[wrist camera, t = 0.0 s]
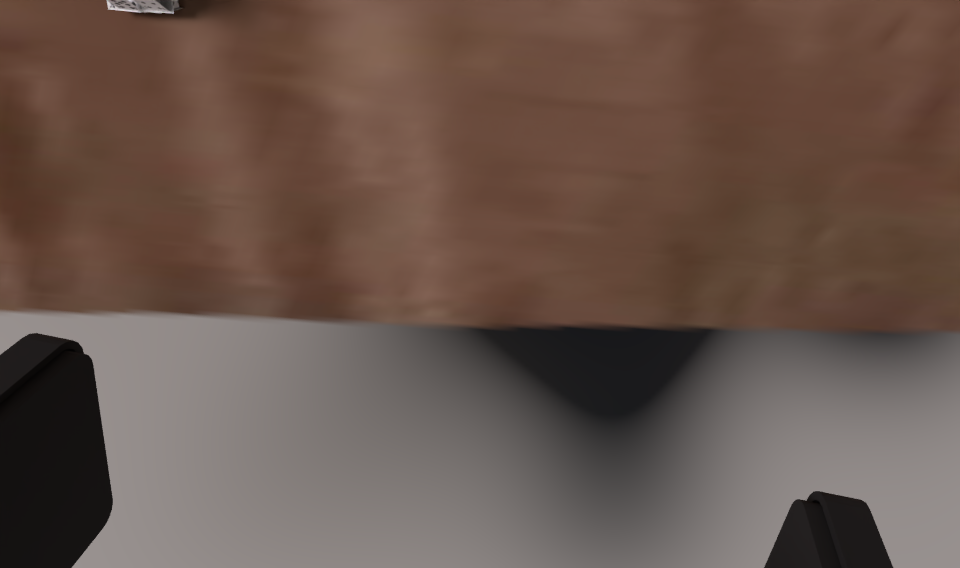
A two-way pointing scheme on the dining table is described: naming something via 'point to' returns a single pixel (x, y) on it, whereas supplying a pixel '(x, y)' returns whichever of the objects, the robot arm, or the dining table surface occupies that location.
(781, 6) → the dining table surface
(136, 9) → the house of cards
